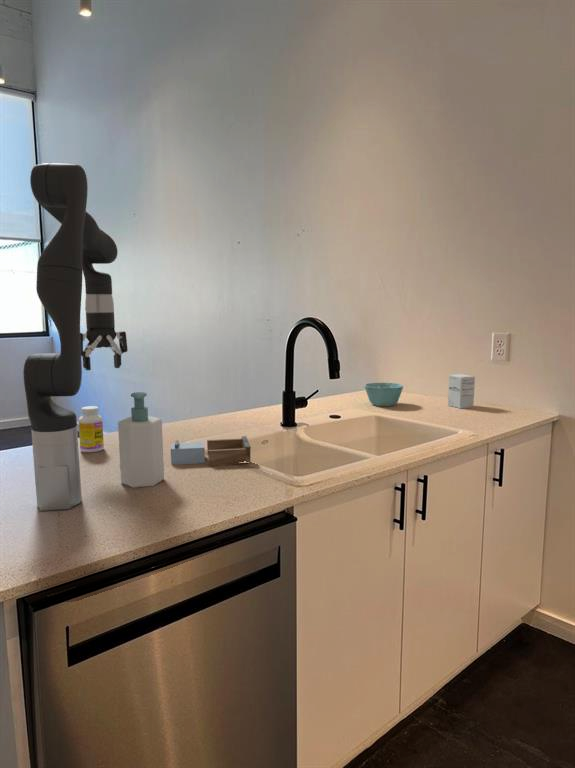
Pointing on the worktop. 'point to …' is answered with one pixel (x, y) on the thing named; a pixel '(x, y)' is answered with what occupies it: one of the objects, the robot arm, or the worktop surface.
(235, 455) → the bay
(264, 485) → the worktop surface
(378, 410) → the worktop surface
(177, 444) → the blue slab with ledge
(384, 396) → the bowl
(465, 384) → the supplement box
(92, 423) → the supplement bottle
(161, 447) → the soap bottle
